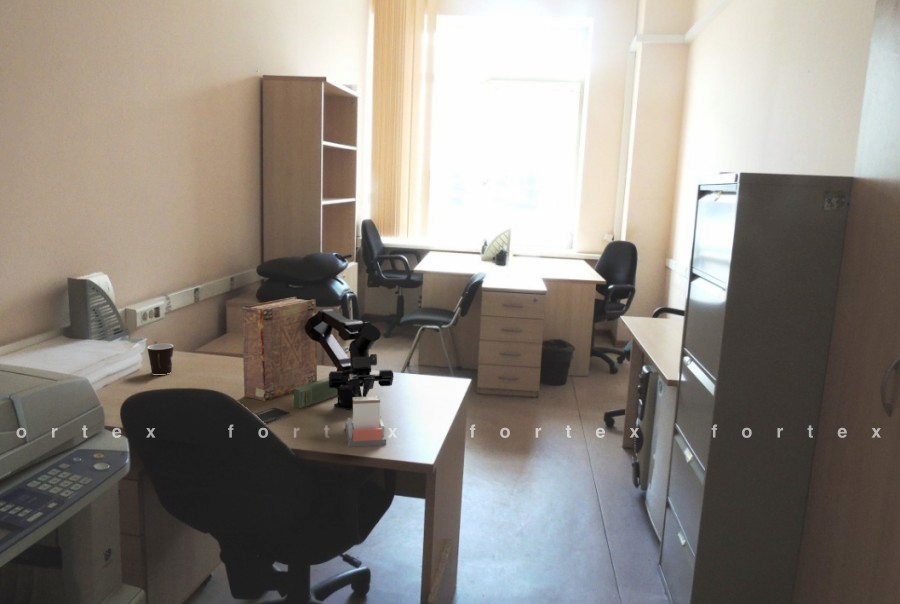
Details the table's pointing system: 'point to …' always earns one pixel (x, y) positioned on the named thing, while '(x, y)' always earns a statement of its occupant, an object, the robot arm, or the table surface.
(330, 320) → the robot arm
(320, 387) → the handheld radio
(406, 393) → the table surface
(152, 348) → the coffee mug
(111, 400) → the table surface
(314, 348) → the book
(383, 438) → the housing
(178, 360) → the table surface
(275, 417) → the phone
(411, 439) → the table surface
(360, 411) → the white box
